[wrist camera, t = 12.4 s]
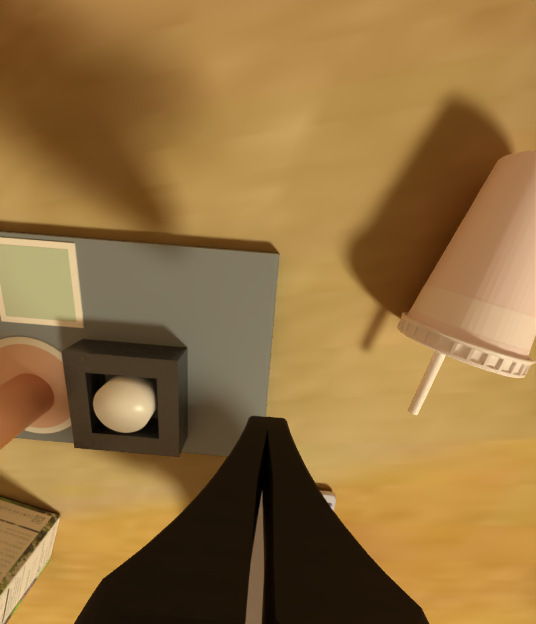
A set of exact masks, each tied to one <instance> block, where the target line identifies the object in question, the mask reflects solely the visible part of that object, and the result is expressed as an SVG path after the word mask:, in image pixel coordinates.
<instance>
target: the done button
mask: <svg viewBox="0 0 536 624" xmlns="http://www.w3.org/2000/svg"><path fill="white" fill-rule="evenodd" d="M93 407H94V411H95V414H96V416H97V417H98V419H99V420H100V421H101V422H102V423H103V424H104V425H105V426H107V427H108V428H110V429H112V430H115V431H118V432H123V433H130V432H135V431H138V430H140V429H141V428H143V427H144V426H145V425H146V424H147V422H148V421H149V419H150V418H151V416H152V415H153V413H154V412H155V410H156V409H157V407H158V399H157V382H156V380H155V379H154V378H144V377H132V376H120V375H114V376H113V377H112V378H111V379H110V380H109V381H108V382H107V383H106V384H104V385H103V386H102V387H101V388H100V389H99V390H98V391H97V393H96V394H95V396H94V400H93Z"/></svg>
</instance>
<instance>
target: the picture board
mask: <svg viewBox="0 0 536 624" xmlns="http://www.w3.org/2000/svg"><path fill="white" fill-rule="evenodd" d="M278 264H279V253H271V252H259V251H246V250H234V249H221V248H208V247H196V246H183V245H171V244H158V243H145V242H133V241H120V240H108V239H95V238H83V237H70V236H57V235H45V234H32V233H20V232H7V231H0V385H2V384H3V383H5V382H7V381H8V380H10V379H12V378H14V377H15V376H17V375H20V374H32V375H36V376H38V377H40V378H42V379H43V380H44V381H46V382H47V383H48V384H49V386H50V387H51V389H52V391H53V393H54V404H53V406H52V407H51V409H50V410H48V411H47V412H46V413H45V414H43V415H42V416H41V417H40V418H38V419H37V420H36V421H35V422H33V423H32V424H31V425H30V426H29V427H27V428H26V429H25V430H24V431H22V432H21V433H20V434H19V435H17V436H16V437H15V438H21V439H33V440H44V441H56V442H67V443H74V441H73V433H72V426H71V419H70V411H69V404H68V397H67V389H66V382H65V375H64V368H63V360H62V353H61V351H62V350H64V349H66V348H68V347H69V346H71V345H73V344H74V343H76V342H78V341H80V340H81V339H92V340H104V341H116V342H128V343H140V344H152V345H164V346H176V347H188V437H187V440H186V442H185V444H184V447H183V449H182V451H181V452H182V453H193V454H205V455H216V456H229V454H230V453H231V451H232V450H233V448H234V446H235V445H236V443H237V441H238V440H239V438H240V436H241V434H242V432H243V430H244V428H245V426H246V424H247V421H248V418H249V417H251V416H262V417H266V406H267V394H268V382H269V370H270V358H271V347H272V335H273V323H274V311H275V300H276V288H277V276H278ZM113 376H114V375H108V374H105V378H106V383H107V382H108V381H109V380H110V379H111V378H112V377H113ZM154 379H155V380H156V382H157V379H156V378H154ZM151 418H158V407H157V409H156V410H155V412H154V413H153V415H152V416H151Z"/></svg>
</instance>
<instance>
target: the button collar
mask: <svg viewBox="0 0 536 624" xmlns="http://www.w3.org/2000/svg"><path fill="white" fill-rule="evenodd" d="M61 353H62V360H63V368H64V375H65V382H66V389H67V397H68V404H69V411H70V419H71V426H72V433H73V441H74V448H83V449H94V450H106V451H117V452H129V453H140V454H151V455H163V456H174V457H179V456H180V454H181V451H182V449H183V447H184V444H185V442H186V440H187V437H188V347H176V346H164V345H152V344H140V343H128V342H116V341H104V340H92V339H81V340H80V341H78V342H76V343H74V344H73V345H71V346H69V347H68V348H66V349H64V350H62V351H61ZM105 374H108V375H120V376H132V377H144V378H156V379H157V399H158V418H150V419H149V421H148V422H147V424H146V425H145V426H144V427H143V428H141V429H140V430H138V431H135V432H130V433H123V432H118V431H115V430H112V429H110V428H108V427H107V426H105V425H104V424H103V423H102V422H101V421H100V420H99V419H98V417H97V416H96V414H95V411H94V407H93V400H94V396H95V394H96V393H97V391H98V390H99V389H100V388H101V387H102V386H103V385H104V384H106V378H105Z"/></svg>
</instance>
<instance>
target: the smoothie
mask: <svg viewBox="0 0 536 624" xmlns="http://www.w3.org/2000/svg"><path fill="white" fill-rule="evenodd" d="M397 328H398V330H399V331H400V332H401V333H403V334H404V335H406V336H407V337H409V338H411V339H412V340H414V341H416V342H418V343H420V344H422V345H424V346H426V347H428V348H430V349H433V350H435V352H434V355H433V357H432V359H431V361H430V363H429V365H428V368H427V370H426V372H425V374H424V376H423V378H422V381H421V383H420V385H419V387H418V389H417V391H416V394H415V396H414V398H413V400H412V402H411V404H410V407H409V409H408V411H409V412H410V413H412V414H414V415H418V413H419V411H420V409H421V407H422V404H423V402H424V400H425V398H426V396H427V394H428V392H429V390H430V388H431V385H432V383H433V381H434V379H435V377H436V375H437V373H438V371H439V369H440V366H441V364H442V362H443V360H444V358H445V356H449V357H451V358H454V359H456V360H459V361H461V362H464V363H467V364H469V365H472V366H475V367H478V368H481V369H484V370H487V371H490V372H493V373H496V374H500V375H504V376H508V377H514V378H523V377H525V376H526V373H527V372H528V370H529V368H530V366H531V365H532V364H534V363H535V360H534V359H533V358H531V357H529V356H528V355H529V353H530V349H531V346H532V344H533V341H534V338H535V336H536V151H525V152H518V153H513V154H509V155H506V156H504V157H502V158H500V159H499V160H498V161H497V162H496V164H495V166H494V168H493V169H492V171H491V173H490V174H489V176H488V178H487V179H486V181H485V183H484V185H483V186H482V188H481V190H480V191H479V193H478V195H477V197H476V198H475V200H474V202H473V203H472V205H471V207H470V208H469V210H468V212H467V214H466V215H465V217H464V219H463V220H462V222H461V224H460V225H459V227H458V229H457V231H456V232H455V234H454V236H453V237H452V239H451V241H450V243H449V244H448V246H447V248H446V249H445V251H444V253H443V254H442V256H441V258H440V260H439V261H438V263H437V265H436V266H435V268H434V270H433V272H432V273H431V275H430V277H429V278H428V280H427V282H426V283H425V285H424V286H423V288H422V290H421V292H420V294H419V295H418V297H417V299H416V301H415V302H414V304H413V306H412V308H411V309H410V311H409V312H403V313H402V317H401V319H400V321H399V324H398V326H397Z"/></svg>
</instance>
